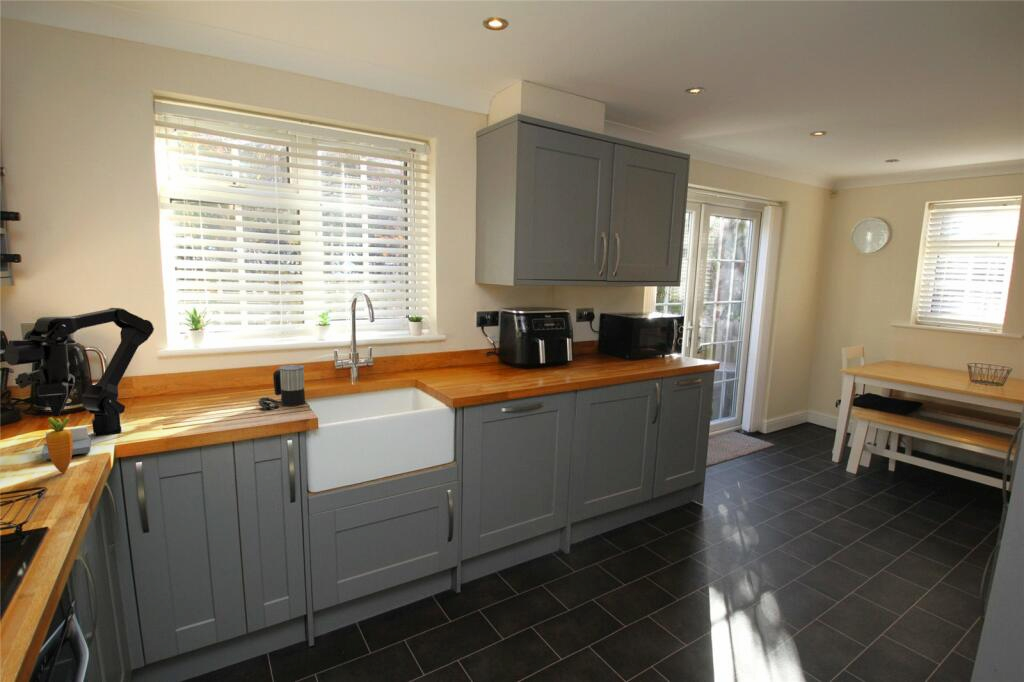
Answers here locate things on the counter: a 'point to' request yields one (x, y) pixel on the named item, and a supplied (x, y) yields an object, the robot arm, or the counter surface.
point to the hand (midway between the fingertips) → (58, 412)
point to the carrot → (60, 444)
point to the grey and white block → (79, 442)
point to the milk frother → (287, 387)
